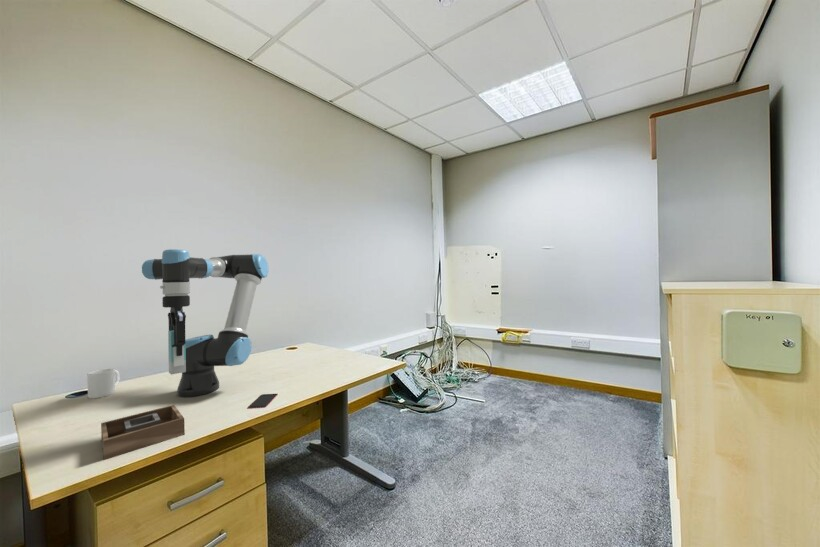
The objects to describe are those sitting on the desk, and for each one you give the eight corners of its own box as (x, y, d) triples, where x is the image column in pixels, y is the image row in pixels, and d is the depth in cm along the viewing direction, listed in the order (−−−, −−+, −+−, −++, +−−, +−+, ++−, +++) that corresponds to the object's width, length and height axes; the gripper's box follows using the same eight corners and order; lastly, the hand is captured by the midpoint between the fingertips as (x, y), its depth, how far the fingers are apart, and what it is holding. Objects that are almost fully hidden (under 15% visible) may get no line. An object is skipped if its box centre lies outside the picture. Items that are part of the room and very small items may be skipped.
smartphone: (278, 393, 132) (265, 407, 118) (278, 394, 132) (265, 408, 118) (261, 394, 131) (245, 408, 117) (261, 395, 131) (246, 409, 117)
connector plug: (168, 372, 109) (168, 330, 109) (183, 369, 111) (182, 329, 112) (171, 374, 106) (170, 331, 106) (185, 371, 109) (185, 330, 109)
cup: (82, 398, 133) (81, 374, 133) (110, 388, 145) (110, 366, 145) (101, 398, 132) (100, 374, 133) (128, 388, 144) (127, 365, 144)
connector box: (101, 439, 97) (101, 423, 97) (174, 419, 110) (174, 404, 110) (103, 459, 86) (103, 441, 86) (184, 434, 99) (184, 418, 99)
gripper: (157, 295, 112) (158, 362, 112) (167, 295, 101) (168, 371, 100) (183, 294, 118) (184, 358, 117) (196, 294, 106) (197, 366, 106)
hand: (177, 364), depth 109 cm, fingers closed on connector plug, 4 cm apart
